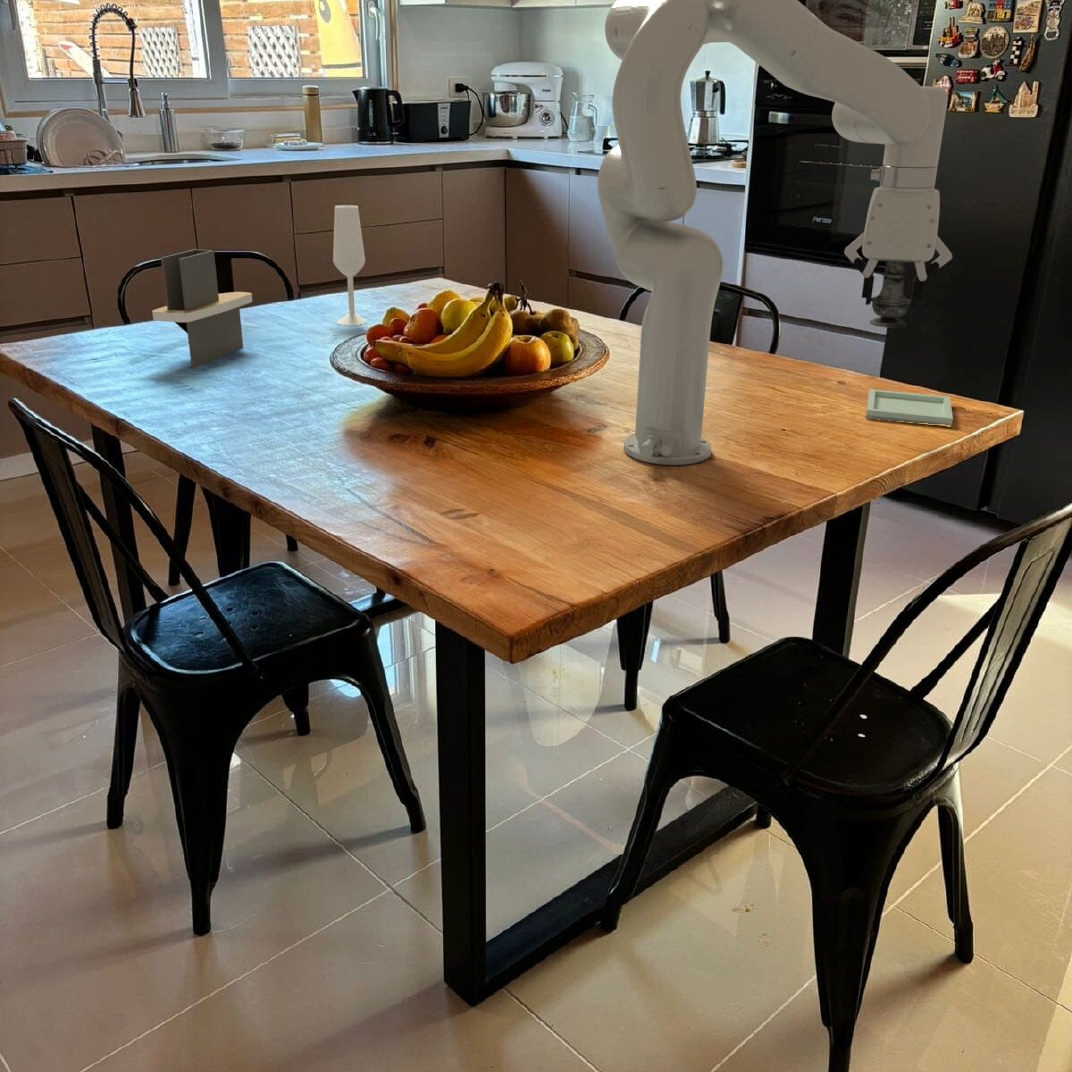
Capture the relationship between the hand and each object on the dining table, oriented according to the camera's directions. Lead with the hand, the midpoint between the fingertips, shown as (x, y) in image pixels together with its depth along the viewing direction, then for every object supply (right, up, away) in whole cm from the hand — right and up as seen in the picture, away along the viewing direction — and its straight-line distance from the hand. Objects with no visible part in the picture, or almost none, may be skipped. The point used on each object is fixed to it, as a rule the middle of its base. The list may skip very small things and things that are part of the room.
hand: (890, 303), depth 159 cm
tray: (+8, -15, +14) cm, 22 cm away
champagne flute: (-93, +11, +68) cm, 116 cm away
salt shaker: (0, -3, +1) cm, 3 cm away
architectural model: (-115, -2, +40) cm, 122 cm away
